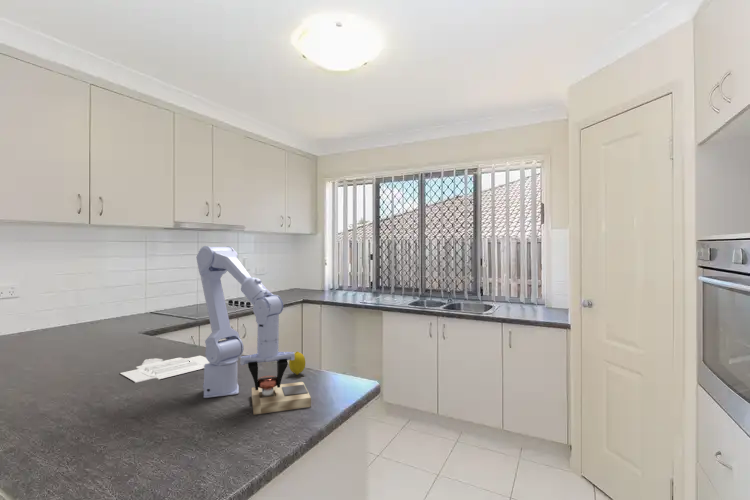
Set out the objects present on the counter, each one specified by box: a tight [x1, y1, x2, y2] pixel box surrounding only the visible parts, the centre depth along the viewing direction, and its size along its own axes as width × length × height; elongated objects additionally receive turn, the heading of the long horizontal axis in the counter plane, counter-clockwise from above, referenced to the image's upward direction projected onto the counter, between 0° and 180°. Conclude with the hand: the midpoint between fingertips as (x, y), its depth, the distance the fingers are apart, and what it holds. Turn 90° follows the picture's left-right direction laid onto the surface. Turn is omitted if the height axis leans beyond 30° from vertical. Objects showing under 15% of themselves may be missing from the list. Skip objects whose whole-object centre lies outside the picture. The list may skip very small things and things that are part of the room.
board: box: [251, 381, 312, 416], centre depth 105 cm, size 15×13×3 cm
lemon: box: [288, 351, 306, 376], centre depth 128 cm, size 6×6×8 cm
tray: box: [119, 355, 209, 384], centre depth 134 cm, size 20×28×4 cm
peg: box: [258, 375, 277, 398], centre depth 104 cm, size 5×5×7 cm
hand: (267, 387), depth 104 cm, fingers closed on peg, 5 cm apart
